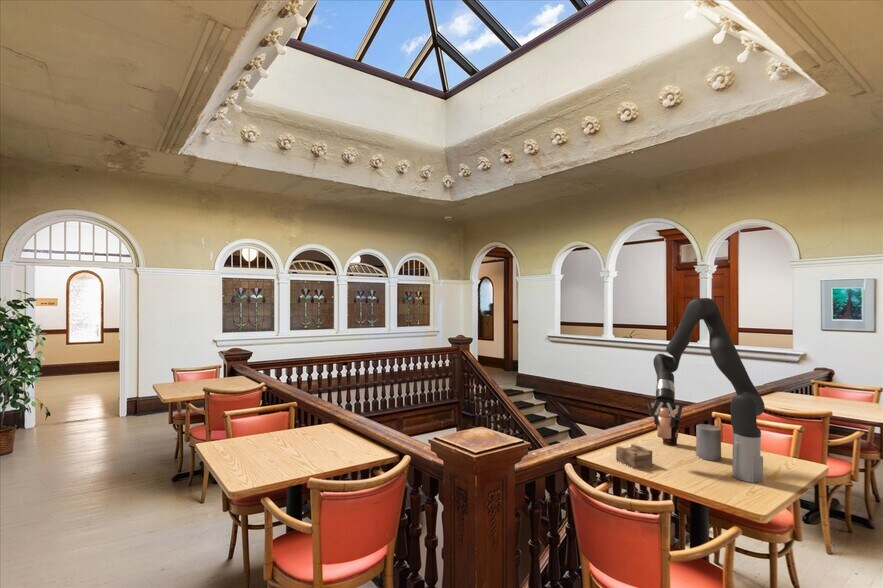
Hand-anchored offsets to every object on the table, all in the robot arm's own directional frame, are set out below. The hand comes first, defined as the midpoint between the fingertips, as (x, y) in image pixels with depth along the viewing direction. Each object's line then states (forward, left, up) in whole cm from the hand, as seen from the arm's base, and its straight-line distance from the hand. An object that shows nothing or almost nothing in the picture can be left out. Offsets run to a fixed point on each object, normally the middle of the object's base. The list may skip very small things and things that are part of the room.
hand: (664, 425), depth 193 cm
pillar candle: (+1, -29, -17) cm, 33 cm away
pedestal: (+7, +9, -17) cm, 21 cm away
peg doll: (+1, -1, -5) cm, 6 cm away
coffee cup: (+21, -29, -17) cm, 39 cm away
